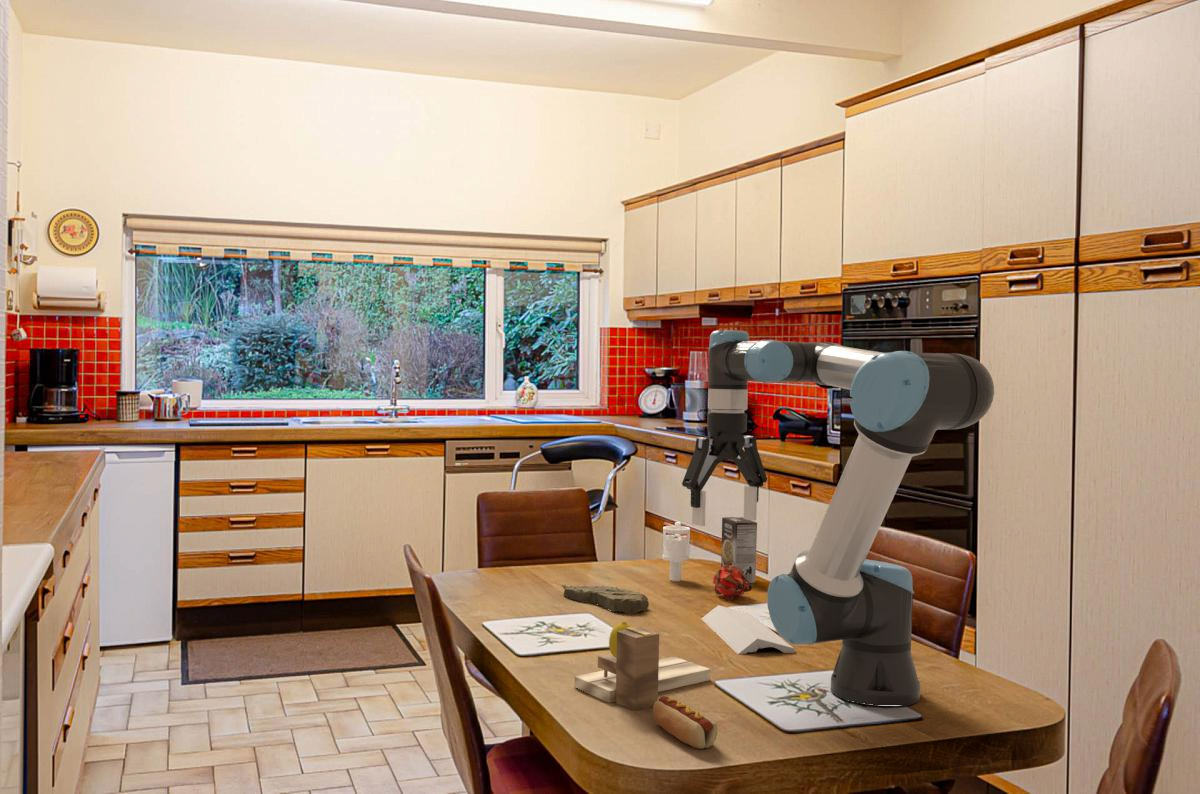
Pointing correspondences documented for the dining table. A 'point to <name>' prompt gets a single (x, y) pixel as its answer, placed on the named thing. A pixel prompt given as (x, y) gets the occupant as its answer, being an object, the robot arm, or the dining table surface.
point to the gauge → (634, 667)
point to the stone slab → (609, 597)
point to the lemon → (614, 637)
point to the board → (669, 677)
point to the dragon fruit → (731, 582)
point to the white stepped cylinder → (676, 548)
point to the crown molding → (743, 631)
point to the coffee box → (739, 545)
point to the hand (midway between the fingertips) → (724, 522)
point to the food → (685, 723)
